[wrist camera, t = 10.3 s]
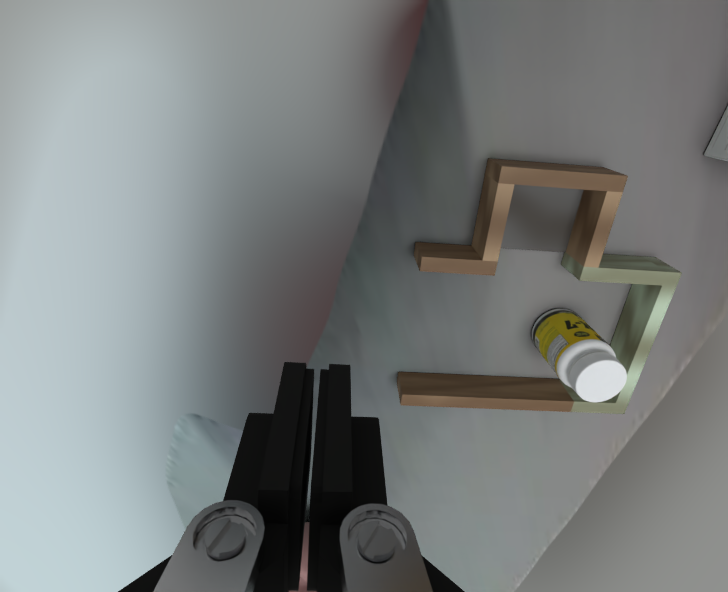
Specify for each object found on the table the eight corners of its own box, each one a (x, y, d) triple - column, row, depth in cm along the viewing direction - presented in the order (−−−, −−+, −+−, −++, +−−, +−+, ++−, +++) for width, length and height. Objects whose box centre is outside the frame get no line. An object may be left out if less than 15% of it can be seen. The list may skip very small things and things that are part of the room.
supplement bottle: (590, 316, 42) (645, 367, 35) (563, 357, 44) (610, 414, 36) (546, 300, 41) (593, 348, 34) (520, 342, 43) (559, 397, 36)
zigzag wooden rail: (427, 153, 35) (435, 161, 32) (686, 173, 37) (718, 182, 34) (396, 382, 45) (400, 405, 42) (605, 390, 46) (623, 413, 43)
